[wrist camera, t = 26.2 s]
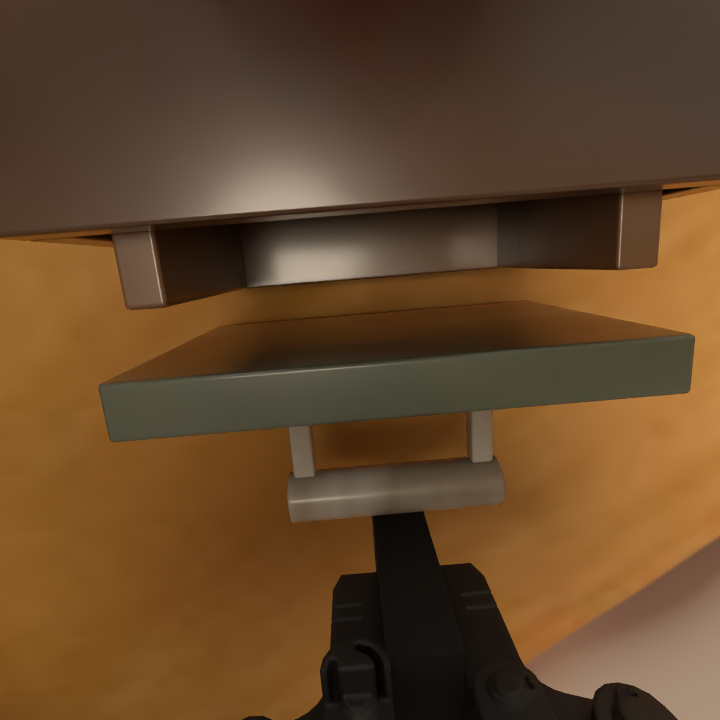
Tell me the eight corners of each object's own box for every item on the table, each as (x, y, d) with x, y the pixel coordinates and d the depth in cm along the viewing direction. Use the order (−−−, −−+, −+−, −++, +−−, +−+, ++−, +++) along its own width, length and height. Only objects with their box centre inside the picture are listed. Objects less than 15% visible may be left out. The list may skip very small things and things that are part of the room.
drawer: (527, 435, 17) (674, 575, 9) (238, 460, 17) (148, 622, 9) (531, -105, 13) (790, -625, 5) (156, -78, 13) (-119, -569, 5)
